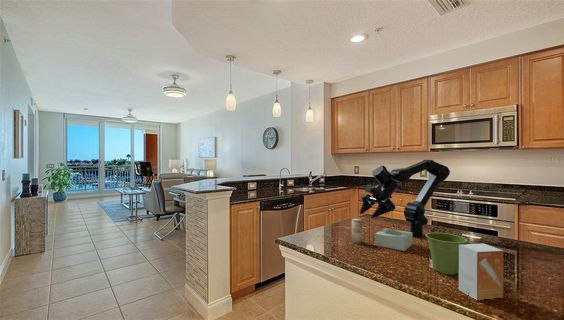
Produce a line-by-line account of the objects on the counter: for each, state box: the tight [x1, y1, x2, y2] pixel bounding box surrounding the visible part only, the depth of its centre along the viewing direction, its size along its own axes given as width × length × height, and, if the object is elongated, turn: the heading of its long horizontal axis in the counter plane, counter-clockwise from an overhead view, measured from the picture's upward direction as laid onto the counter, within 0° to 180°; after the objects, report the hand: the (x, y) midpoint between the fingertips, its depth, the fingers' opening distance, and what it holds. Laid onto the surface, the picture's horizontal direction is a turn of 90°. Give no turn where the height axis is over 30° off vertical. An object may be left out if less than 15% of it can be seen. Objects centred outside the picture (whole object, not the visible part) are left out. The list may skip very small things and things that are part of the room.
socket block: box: [374, 227, 414, 252], centre depth 116 cm, size 12×12×5 cm
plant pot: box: [425, 232, 468, 276], centre depth 88 cm, size 12×12×11 cm
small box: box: [458, 243, 505, 301], centre depth 73 cm, size 8×6×13 cm
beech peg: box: [351, 218, 363, 245], centre depth 119 cm, size 4×4×10 cm
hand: (366, 215), depth 121 cm, fingers open, 9 cm apart
